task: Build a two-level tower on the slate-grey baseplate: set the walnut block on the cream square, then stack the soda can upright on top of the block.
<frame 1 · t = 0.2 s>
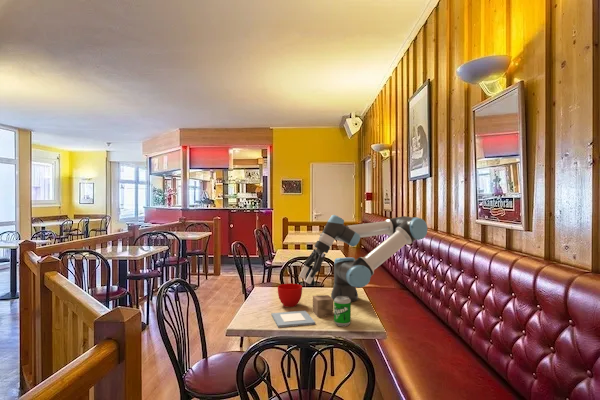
hand: (304, 280, 185), 15 cm above the table, tool tilted 30°, fingers open, 13 cm apart
walnut block: (322, 313, 180), on the table
ceramic cup: (290, 304, 195), on the table
soda can: (342, 324, 165), on the table
baseplate: (292, 319, 171), on the table
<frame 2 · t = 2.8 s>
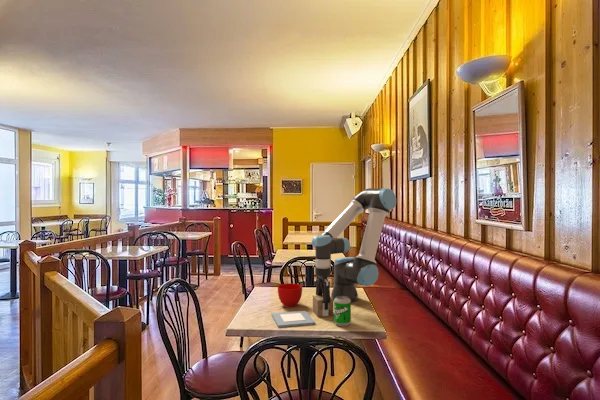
hand: (322, 313, 180), 0 cm above the table, tool pointing down, fingers closed on walnut block, 8 cm apart
walnut block: (322, 313, 180), on the table, touching gripper
everything else where it was.
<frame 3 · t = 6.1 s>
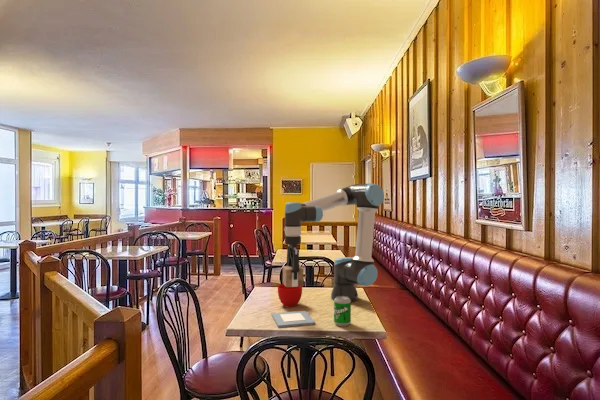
hand: (292, 284, 171), 17 cm above the table, tool pointing down, fingers closed on walnut block, 8 cm apart
walnut block: (292, 284, 171), point 16 cm above the table, touching gripper
everything else where it was.
when the fingers open (3 cm above the table, at t = 9.0 s): walnut block drops 1 cm, resting on baseplate.
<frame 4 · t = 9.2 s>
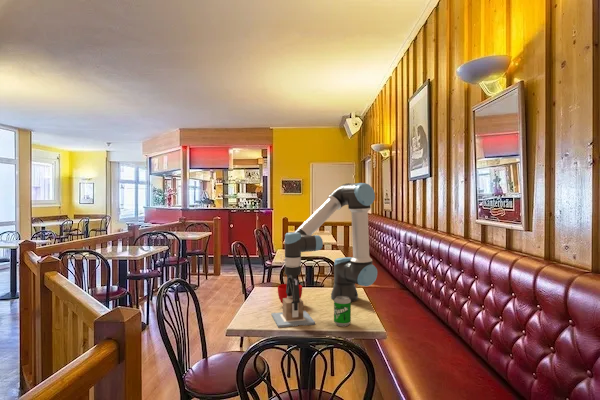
hand: (292, 313, 171), 3 cm above the table, tool pointing down, fingers open, 10 cm apart
walnut block: (292, 317, 171), point 1 cm above the table, touching baseplate
everything else where it was.
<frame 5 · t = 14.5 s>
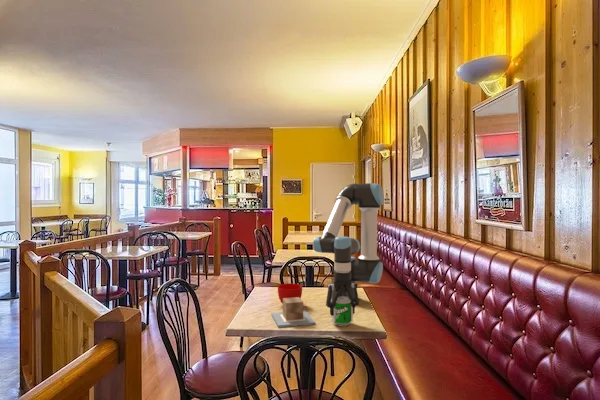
hand: (342, 321, 165), 1 cm above the table, tool pointing down, fingers closed on soda can, 7 cm apart
soda can: (342, 324, 165), on the table, touching gripper
everything else where it was.
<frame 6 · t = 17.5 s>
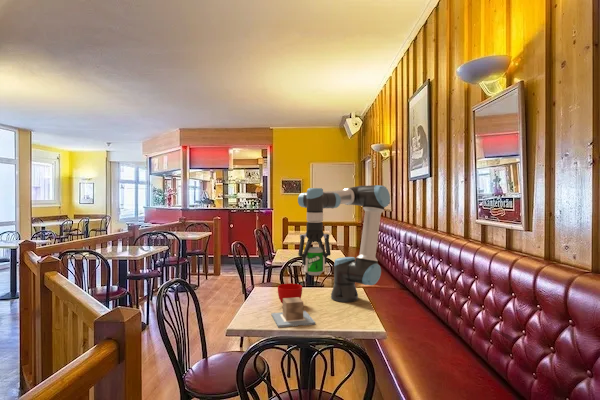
hand: (314, 271, 168), 23 cm above the table, tool pointing down, fingers closed on soda can, 7 cm apart
soda can: (314, 274, 168), point 22 cm above the table, touching gripper
everything else where it was.
when the fingers open (12 cm above the table, at t = 20.8 s): soda can drops 1 cm, resting on walnut block.
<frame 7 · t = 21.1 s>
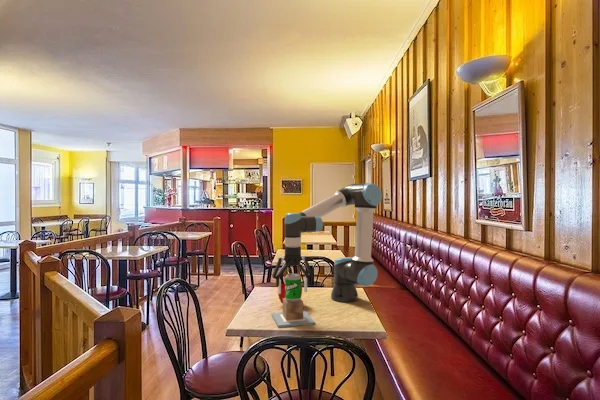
hand: (292, 292, 171), 13 cm above the table, tool pointing down, fingers open, 12 cm apart
walnut block: (292, 317, 171), point 1 cm above the table, touching baseplate, soda can
soda can: (293, 300, 170), point 9 cm above the table, touching walnut block
everything else where it was.
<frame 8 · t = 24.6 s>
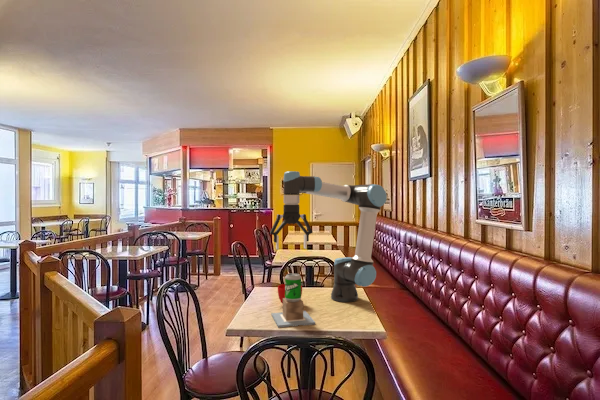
hand: (291, 248, 173), 33 cm above the table, tool pointing down, fingers open, 13 cm apart
nothing on the table moved.
at the end: walnut block 0.1 cm off-centre on the baseplate, point 1.2 cm above the baseplate's base; soda can inside the target area on the baseplate (0.4 cm from its centre), point 9.0 cm above the baseplate's base; soda can tilted 0° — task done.
